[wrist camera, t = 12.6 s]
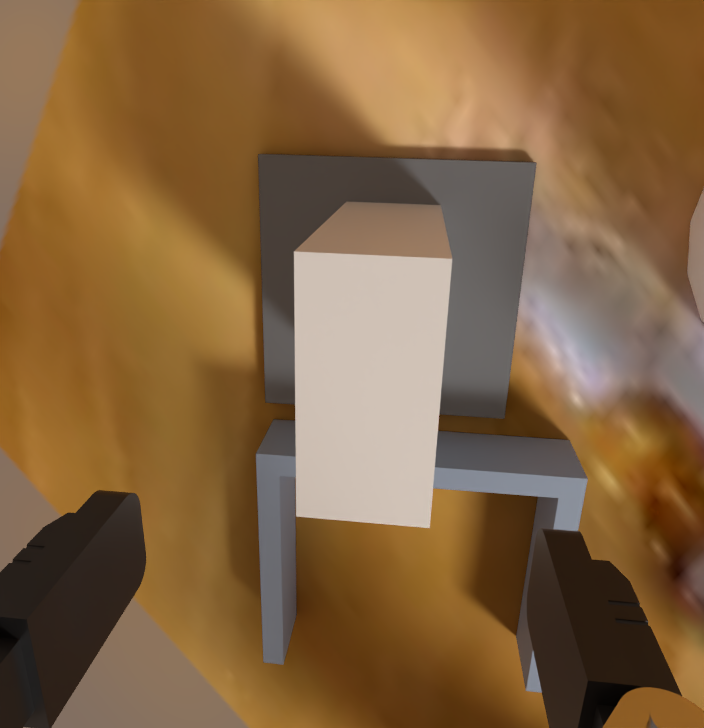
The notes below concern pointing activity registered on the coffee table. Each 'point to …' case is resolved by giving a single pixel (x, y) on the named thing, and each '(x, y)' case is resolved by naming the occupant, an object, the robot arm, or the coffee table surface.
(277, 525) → the frame
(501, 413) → the rubber pad
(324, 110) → the coffee table surface
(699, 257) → the canister
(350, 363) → the packed carton
